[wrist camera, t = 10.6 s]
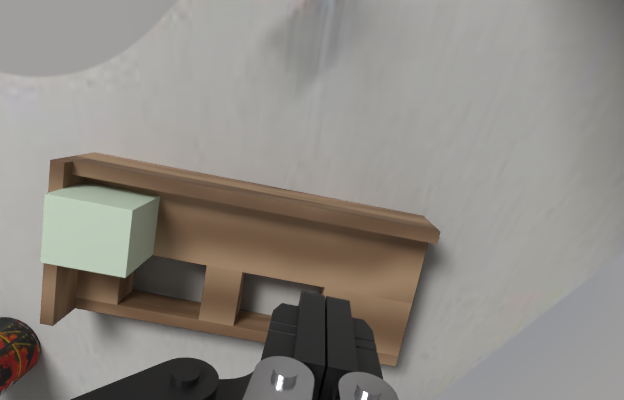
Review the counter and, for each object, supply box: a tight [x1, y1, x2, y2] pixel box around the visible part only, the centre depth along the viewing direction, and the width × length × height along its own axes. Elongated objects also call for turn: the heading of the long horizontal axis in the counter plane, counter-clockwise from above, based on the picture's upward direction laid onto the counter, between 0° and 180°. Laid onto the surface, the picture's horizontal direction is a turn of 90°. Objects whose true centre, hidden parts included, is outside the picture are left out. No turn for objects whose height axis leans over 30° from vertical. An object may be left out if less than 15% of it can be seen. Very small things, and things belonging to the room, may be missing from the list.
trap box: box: [40, 153, 440, 366], centre depth 34 cm, size 13×29×6 cm, turn 79°
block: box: [40, 182, 160, 278], centre depth 31 cm, size 5×6×5 cm
